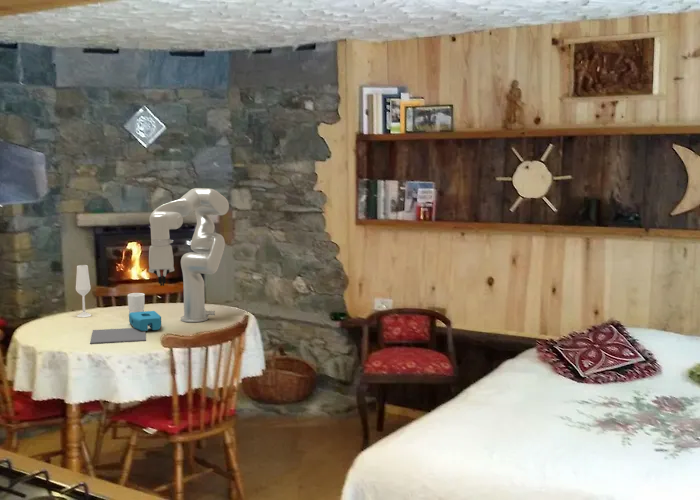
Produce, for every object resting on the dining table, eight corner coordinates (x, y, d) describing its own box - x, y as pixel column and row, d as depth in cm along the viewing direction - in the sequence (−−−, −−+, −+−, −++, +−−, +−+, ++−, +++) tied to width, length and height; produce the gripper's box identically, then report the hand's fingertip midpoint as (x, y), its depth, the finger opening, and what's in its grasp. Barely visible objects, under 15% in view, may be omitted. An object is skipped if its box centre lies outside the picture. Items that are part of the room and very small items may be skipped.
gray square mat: (145, 328, 337) (145, 327, 337) (145, 340, 316) (145, 339, 316) (92, 331, 331) (92, 330, 331) (90, 344, 310) (90, 342, 310)
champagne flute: (86, 317, 357) (84, 267, 354) (73, 316, 359) (71, 266, 356) (94, 314, 364) (92, 265, 360) (82, 313, 365) (80, 264, 362)
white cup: (148, 314, 365) (148, 294, 364) (135, 317, 358) (135, 296, 357) (137, 312, 369) (136, 292, 368) (124, 315, 363) (123, 294, 361)
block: (135, 319, 328) (128, 312, 346) (136, 331, 328) (129, 323, 346) (163, 317, 333) (155, 310, 351) (164, 329, 333) (155, 321, 351)
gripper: (178, 241, 329) (179, 282, 332) (142, 242, 325) (144, 284, 328) (178, 243, 322) (180, 286, 325) (142, 245, 318) (144, 288, 321)
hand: (162, 285), depth 326 cm, fingers closed
